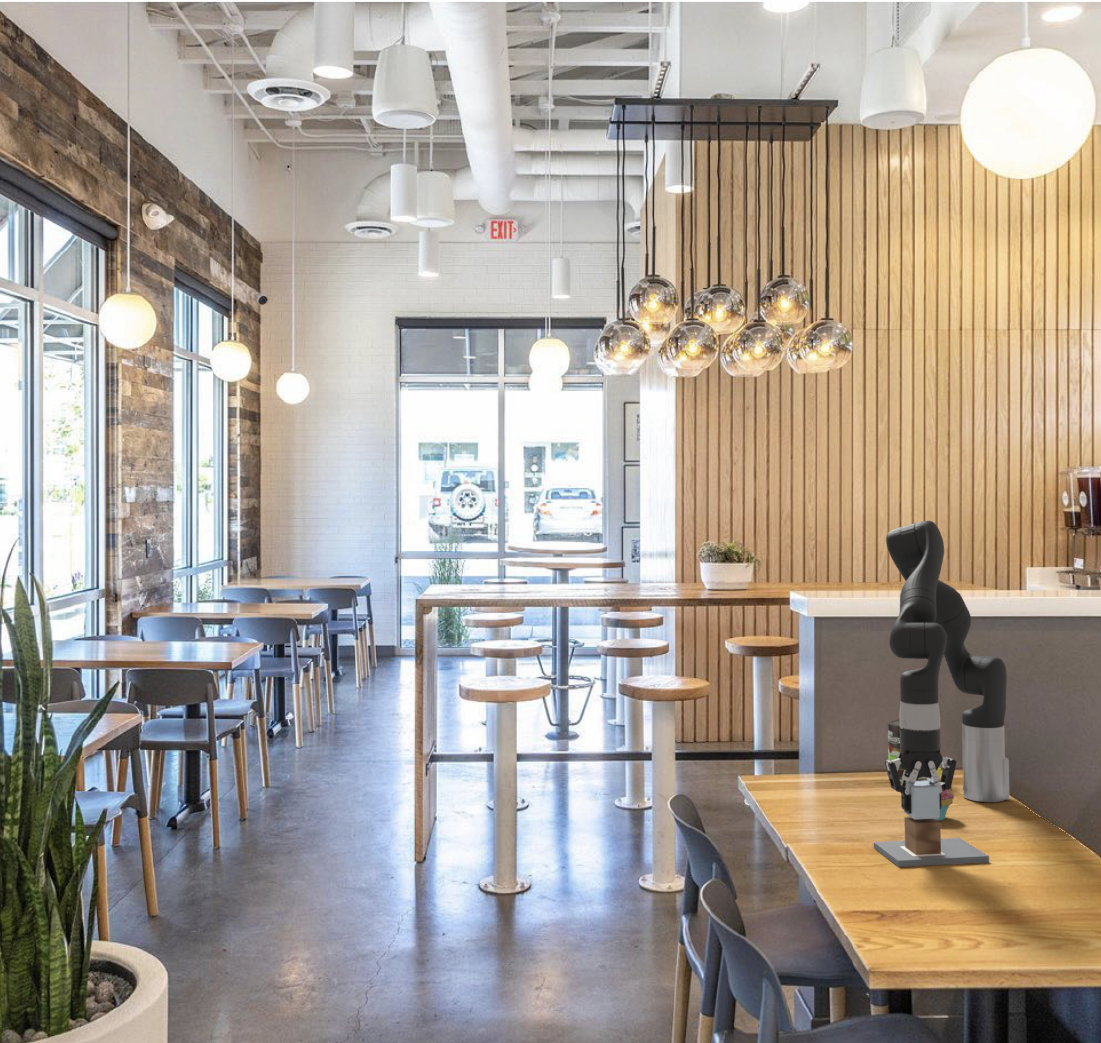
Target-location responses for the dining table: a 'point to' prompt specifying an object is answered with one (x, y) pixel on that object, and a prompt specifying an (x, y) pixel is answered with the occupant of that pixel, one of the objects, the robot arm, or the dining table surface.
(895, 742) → the coffee can
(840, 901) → the dining table surface
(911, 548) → the robot arm
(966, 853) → the grey flat plate
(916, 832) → the walnut block
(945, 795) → the cupcake
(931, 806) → the greyblue block
